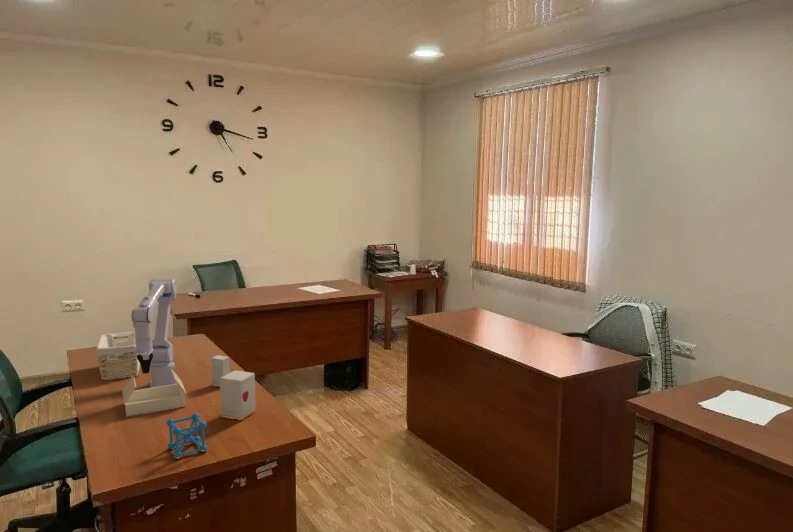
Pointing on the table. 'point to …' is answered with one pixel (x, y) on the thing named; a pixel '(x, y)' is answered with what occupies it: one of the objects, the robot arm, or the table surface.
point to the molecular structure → (186, 434)
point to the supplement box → (237, 394)
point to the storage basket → (117, 356)
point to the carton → (155, 400)
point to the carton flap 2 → (178, 381)
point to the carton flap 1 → (129, 389)
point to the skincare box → (219, 368)
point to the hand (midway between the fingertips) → (145, 372)
